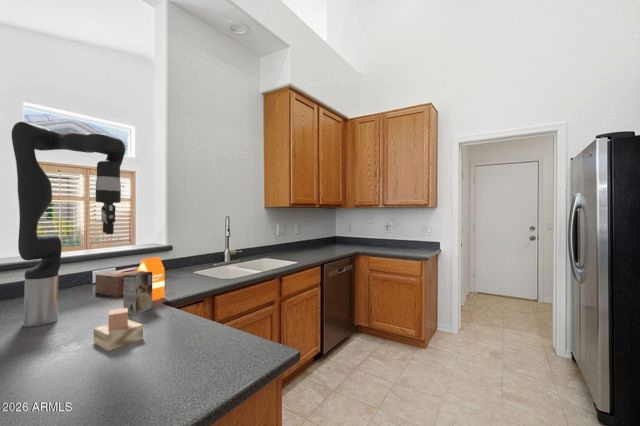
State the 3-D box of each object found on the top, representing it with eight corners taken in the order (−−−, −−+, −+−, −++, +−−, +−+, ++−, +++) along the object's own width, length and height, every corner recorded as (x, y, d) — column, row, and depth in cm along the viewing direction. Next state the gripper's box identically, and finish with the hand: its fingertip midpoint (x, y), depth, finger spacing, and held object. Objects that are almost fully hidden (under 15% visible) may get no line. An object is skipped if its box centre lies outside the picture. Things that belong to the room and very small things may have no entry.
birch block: (108, 351, 88) (108, 335, 88) (93, 344, 93) (93, 328, 93) (142, 339, 96) (142, 324, 96) (127, 333, 102) (127, 318, 102)
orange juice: (164, 298, 143) (164, 257, 143) (147, 303, 135) (147, 259, 135) (153, 296, 146) (154, 256, 146) (136, 300, 138) (136, 258, 138)
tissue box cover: (139, 282, 174) (139, 266, 174) (158, 284, 170) (159, 267, 170) (95, 294, 149) (95, 274, 149) (116, 296, 145) (116, 276, 145)
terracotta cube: (108, 330, 91) (108, 315, 91) (108, 325, 95) (109, 310, 95) (127, 327, 94) (127, 312, 94) (127, 322, 98) (127, 307, 98)
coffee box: (140, 306, 129) (140, 270, 129) (153, 307, 128) (153, 271, 128) (122, 313, 120) (123, 275, 120) (135, 315, 119) (136, 275, 119)
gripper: (93, 190, 110) (93, 232, 110) (97, 188, 100) (97, 235, 100) (117, 191, 115) (117, 232, 115) (123, 189, 105) (123, 234, 105)
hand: (108, 233), depth 108 cm, fingers open, 8 cm apart
